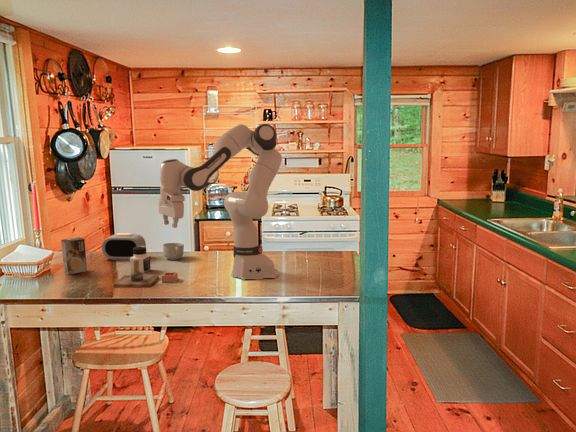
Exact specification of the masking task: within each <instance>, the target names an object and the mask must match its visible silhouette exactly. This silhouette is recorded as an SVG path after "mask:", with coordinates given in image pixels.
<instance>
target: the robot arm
mask: <svg viewBox="0 0 576 432" xmlns="http://www.w3.org/2000/svg"><path fill="white" fill-rule="evenodd" d="M213 145H214V146H213V149H214V153H213V154H212V155H211V156H210V157H209V158H208V159H206V161H204V162H203V163H202V164H200V165H199V166H196V167H194V166H193V167H192V166H191V165H190V166H189V165H187V164H185V163H183V162H181V160H179V159H175V158H174V159H166V160H164V161H162V162H161V163H160V164H161V165H160V169H159V170H160V171H159V173H160V174H159V181H160V188H159V189H160V190H159V196H160V197H159V199H158V214H161V215H162V219H163V224H164V225H165V226H168V225H169V224H170V220H169V217H170V218H172V221H173V222H172V225H171V226H172V228H174V229H176V228H178V223H179V220H180V219H183V217H184V213H185V212H184V211H185V204H184V202H185V200H186V199H185V196H184V195H183V193H182V192H181V187H183V188H186V189H189V190H191V191H194V192H198V191H201V190H203V189H204V188H205V187H206V186H207V185H208V182H209V181H210V179H211V177H212V176H213V175H214V174H215V173H216V172H217V171H219V170H220V169H221V168H222V167H223V166H225V164H226V163H227V162H228V161H230V160H231V159H232V158H234V157H235V156H236V155H238V154H239V153H240V152H242V150H244V149H246V150H248V151H250V152H251V153H252V154H253V155H254V156H257V157H258V159H257V160H256V162H255V164H254V165H253V167H252V169H251V171H249V172H250V173H249V175H247V183H248V188H247V191H245V192H244V191H243V192H242V191H233V192H229V193H227V195H225V198H224V200H223V206H224V208H225V210H226V211H227V213H228V214H229V217H230V220H231V224H232V227H233V236H234V237H233V240H234V241H233V242H234V243H233V248H232V249H233V250H232V254H233V266H232V271H231V274H230V275H231V276H232V277H233V276H234V278H236V277H238V278H237V279H240V278H241V279H240V280H242V279H256V280H264V279H263V278H274V279H276V278H275V277H277V276H278V275H279V276H280V271H279V270H278V269H276V268H275V264H274V261H273V260H272V259H271V258H270V257H269V256H267V255H266V254H264V253H263V251H264V248H263V246H262V245H260V244H259V230H258V227H257V226H256V224H255V223H254V220H253V219H255V218H256V219H257V218H262V217H264V216H266V214H267V212H268V211H269V202H268V198H267V197H268V192H269V189H270V187H271V185H272V183H273V181H274V179H275V178H276V176H277V173H278V171H279V169H280V167H281V164H282V161H283V156H282V154H281V153H280V152H279V151H278V150H276V147H277V133H276V130H275V127H274V126H273V125H272V124H271V125H270V124H268V123H263V124H260V125H258V126H257V127H256V128H255V129H254V130H252V129H250V127H248V126H247V125H245V124H243V123H242V124H241V123H240V124H237V125H236V126H234V127H232V128H230V129H228V130H227V131H226V132H224V133H223V134H222V135H221V136H219V138H218V139H217V140H215V142H214V144H213ZM279 276H278V277H279ZM278 277H277V278H278Z"/></svg>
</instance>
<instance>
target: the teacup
mask: <svg viewBox="0 0 576 432" xmlns="http://www.w3.org/2000/svg"><path fill="white" fill-rule="evenodd" d="M184 245H185V244H184V243H179V242H167V243H163V244H162V246H163V247H162V248H163V249H162V251H163V253H162V254H163V256H164V257H165V258H166V260H171V261H172V260H173V261H176V260H180V259H181V258H183V255H184Z"/></svg>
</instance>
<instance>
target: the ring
mask: <svg viewBox="0 0 576 432" xmlns="http://www.w3.org/2000/svg"><path fill="white" fill-rule="evenodd" d="M178 275H179V274H178V272H177V271H176V272H175V271H173V272H171V271H168V272H166V271H164V273H162V275H161V283H176V282H177V281H178Z"/></svg>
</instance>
